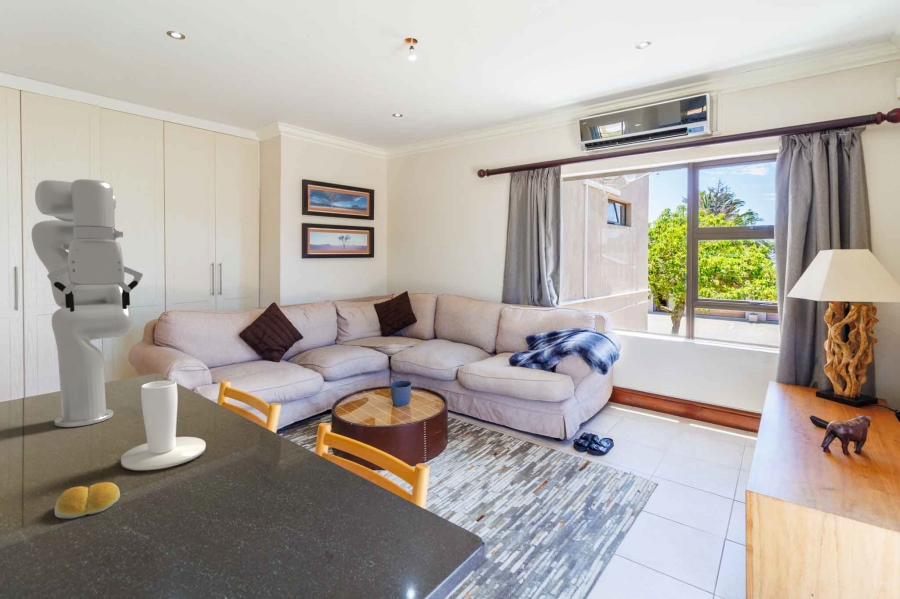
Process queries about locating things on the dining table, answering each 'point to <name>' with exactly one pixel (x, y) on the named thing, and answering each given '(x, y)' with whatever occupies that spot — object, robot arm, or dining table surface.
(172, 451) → the cream dish
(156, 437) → the white cup
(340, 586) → the dining table surface
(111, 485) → the bread roll
